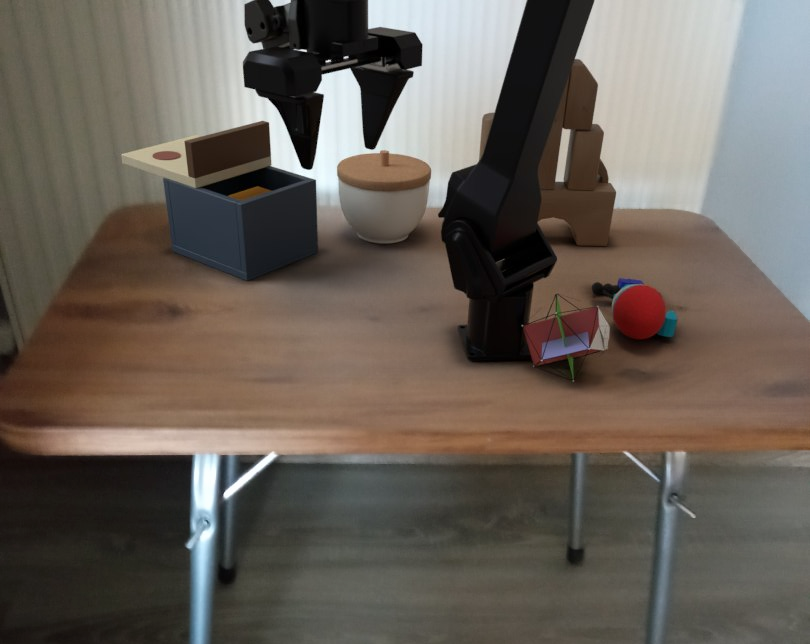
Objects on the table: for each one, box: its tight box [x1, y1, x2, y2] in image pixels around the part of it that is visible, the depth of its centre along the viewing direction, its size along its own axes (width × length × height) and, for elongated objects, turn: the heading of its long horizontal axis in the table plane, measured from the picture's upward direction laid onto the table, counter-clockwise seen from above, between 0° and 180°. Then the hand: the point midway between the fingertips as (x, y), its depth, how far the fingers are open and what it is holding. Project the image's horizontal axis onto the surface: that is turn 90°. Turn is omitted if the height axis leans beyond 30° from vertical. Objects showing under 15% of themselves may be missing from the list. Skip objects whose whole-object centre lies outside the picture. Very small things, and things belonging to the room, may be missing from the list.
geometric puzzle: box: [522, 292, 611, 383], centre depth 80 cm, size 7×7×8 cm
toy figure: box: [591, 277, 678, 340], centre depth 89 cm, size 8×5×15 cm
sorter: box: [162, 165, 319, 282], centre depth 98 cm, size 12×11×8 cm
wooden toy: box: [478, 58, 617, 247], centre depth 100 cm, size 16×7×25 cm, turn 92°
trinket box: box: [336, 149, 432, 245], centre depth 103 cm, size 11×11×9 cm
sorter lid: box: [121, 120, 272, 188], centre depth 97 cm, size 12×11×4 cm
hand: (339, 158), depth 87 cm, fingers open, 9 cm apart
